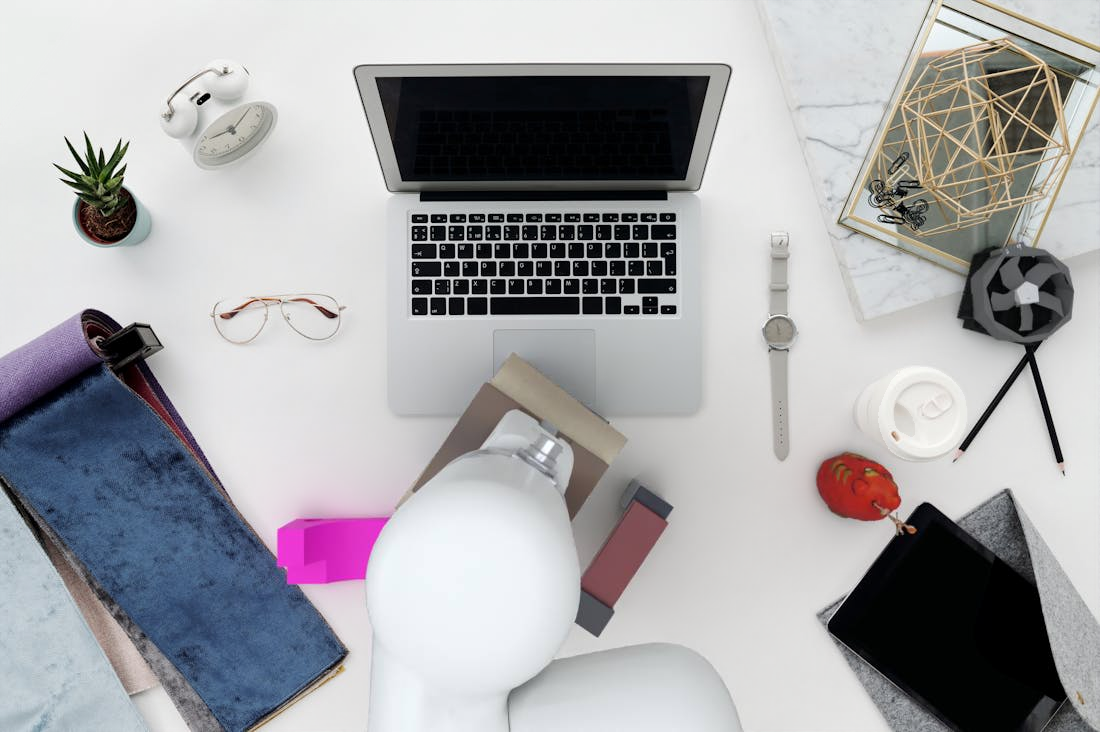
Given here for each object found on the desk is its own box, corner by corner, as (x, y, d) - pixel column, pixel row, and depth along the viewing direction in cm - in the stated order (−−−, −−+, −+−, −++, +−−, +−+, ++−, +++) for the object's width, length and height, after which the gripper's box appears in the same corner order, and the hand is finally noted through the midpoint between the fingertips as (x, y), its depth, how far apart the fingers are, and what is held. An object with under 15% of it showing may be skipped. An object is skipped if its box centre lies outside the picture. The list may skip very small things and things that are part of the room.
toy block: (300, 573, 85) (277, 592, 77) (300, 516, 85) (277, 529, 77) (436, 572, 85) (426, 589, 77) (436, 515, 85) (426, 527, 78)
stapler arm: (595, 630, 77) (597, 638, 74) (559, 605, 77) (560, 612, 74) (668, 521, 77) (672, 526, 75) (631, 497, 77) (635, 500, 75)
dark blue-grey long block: (599, 607, 85) (604, 628, 77) (554, 576, 85) (555, 595, 77) (674, 494, 85) (687, 504, 78) (629, 464, 85) (638, 471, 78)
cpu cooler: (1064, 353, 81) (971, 326, 81) (1029, 355, 86) (942, 331, 86) (1088, 258, 81) (996, 232, 81) (1052, 267, 87) (965, 242, 87)
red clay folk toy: (885, 464, 86) (958, 480, 71) (866, 524, 86) (936, 553, 71) (820, 443, 86) (879, 455, 71) (801, 503, 86) (857, 528, 71)
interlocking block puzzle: (525, 541, 85) (518, 613, 58) (432, 478, 85) (382, 521, 58) (607, 420, 86) (637, 435, 59) (514, 358, 86) (502, 344, 59)
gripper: (515, 357, 38) (523, 365, 56) (341, 612, 37) (407, 536, 56) (642, 443, 38) (608, 423, 56) (469, 700, 37) (493, 595, 56)
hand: (508, 479), depth 56 cm, fingers closed
